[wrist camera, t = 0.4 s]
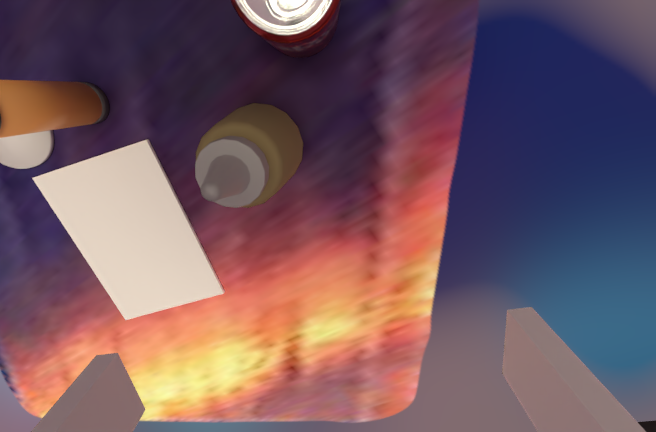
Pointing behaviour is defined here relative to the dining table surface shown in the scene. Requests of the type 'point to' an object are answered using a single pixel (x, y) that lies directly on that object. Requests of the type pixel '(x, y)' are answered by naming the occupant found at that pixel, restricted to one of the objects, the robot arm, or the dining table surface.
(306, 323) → the dining table surface
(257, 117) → the squeeze bottle
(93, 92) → the thermos bottle
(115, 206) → the paper
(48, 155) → the coaster
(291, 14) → the soda can
